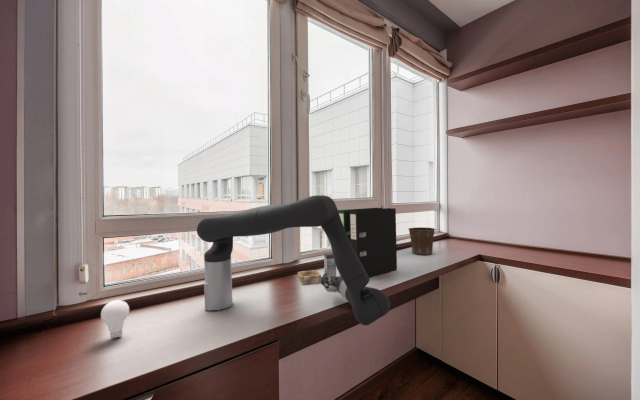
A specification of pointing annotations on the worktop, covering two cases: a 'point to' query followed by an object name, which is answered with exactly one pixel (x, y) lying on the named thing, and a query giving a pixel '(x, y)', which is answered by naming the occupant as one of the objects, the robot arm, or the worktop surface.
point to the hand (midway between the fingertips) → (335, 275)
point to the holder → (309, 277)
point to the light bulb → (115, 316)
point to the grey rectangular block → (329, 268)
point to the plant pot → (422, 240)
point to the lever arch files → (372, 238)
